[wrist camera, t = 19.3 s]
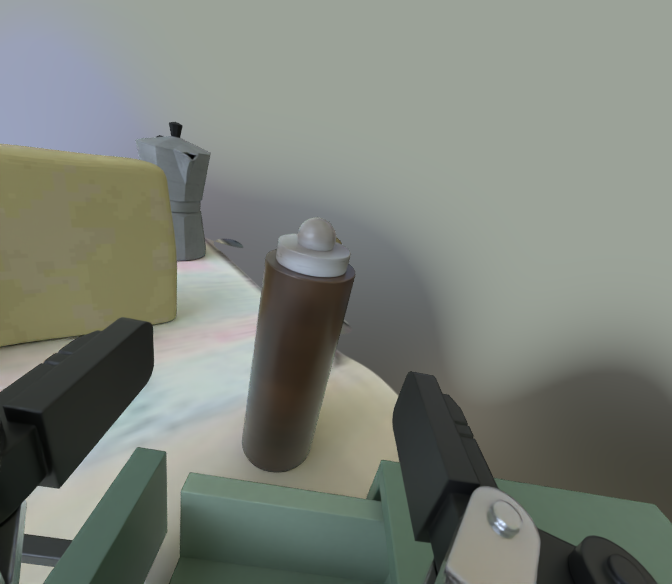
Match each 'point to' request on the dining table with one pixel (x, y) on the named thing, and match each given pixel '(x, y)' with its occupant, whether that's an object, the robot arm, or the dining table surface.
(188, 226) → the coffeepot
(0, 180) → the cheese
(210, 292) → the dining table surface
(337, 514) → the drawer
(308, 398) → the pepper mill
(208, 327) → the dining table surface
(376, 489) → the cabinet
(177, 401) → the dining table surface
